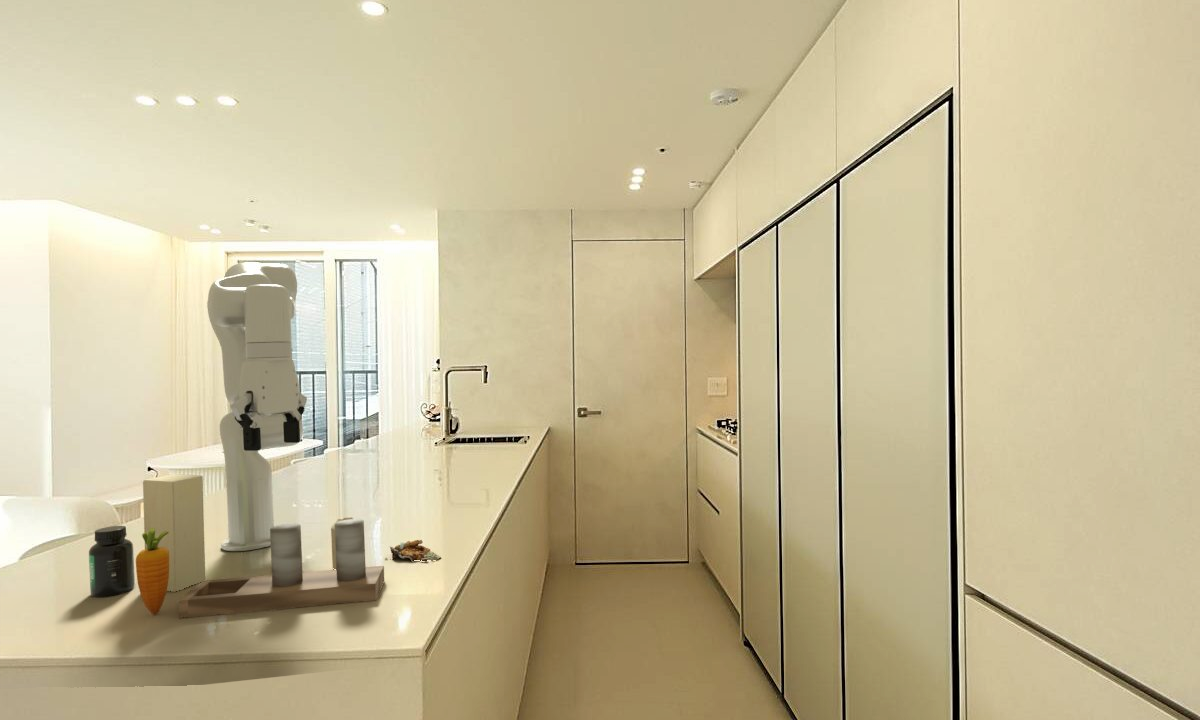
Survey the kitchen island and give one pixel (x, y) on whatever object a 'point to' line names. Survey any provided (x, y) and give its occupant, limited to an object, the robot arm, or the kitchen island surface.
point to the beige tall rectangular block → (177, 525)
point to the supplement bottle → (111, 562)
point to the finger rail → (277, 596)
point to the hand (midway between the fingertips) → (273, 446)
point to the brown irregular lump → (413, 551)
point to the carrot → (153, 571)
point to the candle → (334, 542)
